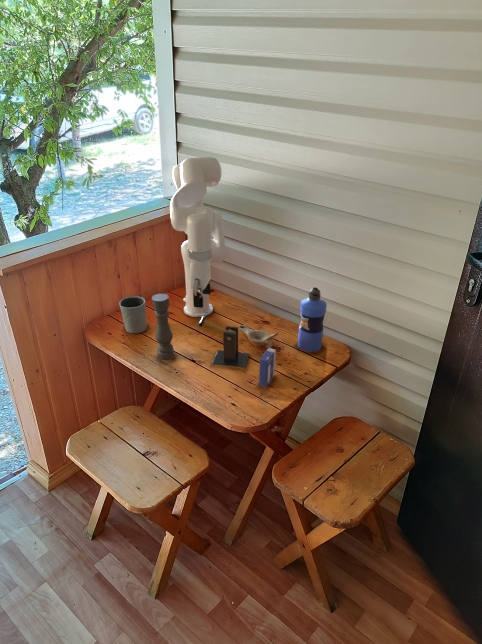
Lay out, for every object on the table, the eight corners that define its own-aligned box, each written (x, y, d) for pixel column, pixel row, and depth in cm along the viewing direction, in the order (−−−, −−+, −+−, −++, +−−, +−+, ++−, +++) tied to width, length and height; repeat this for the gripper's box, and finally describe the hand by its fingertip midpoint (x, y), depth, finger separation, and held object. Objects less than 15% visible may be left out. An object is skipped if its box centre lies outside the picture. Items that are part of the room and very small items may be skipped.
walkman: (266, 389, 161) (267, 360, 154) (258, 387, 162) (259, 358, 155) (274, 377, 167) (276, 348, 160) (267, 375, 168) (268, 346, 161)
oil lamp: (268, 358, 176) (269, 335, 171) (231, 335, 190) (231, 313, 184) (284, 350, 181) (286, 327, 176) (248, 328, 195) (248, 306, 189)
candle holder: (155, 355, 177) (149, 295, 164) (172, 351, 180) (166, 292, 166) (160, 364, 173) (153, 302, 159) (176, 360, 175) (171, 299, 161)
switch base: (212, 366, 172) (211, 334, 165) (218, 352, 180) (217, 321, 172) (244, 369, 170) (245, 338, 163) (249, 356, 178) (249, 325, 170)
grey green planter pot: (140, 336, 189) (137, 309, 182) (118, 331, 191) (114, 305, 185) (152, 324, 197) (149, 298, 190) (131, 320, 199) (127, 294, 193)
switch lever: (197, 326, 166) (199, 321, 165) (201, 319, 171) (203, 314, 169) (231, 342, 167) (234, 337, 166) (234, 334, 171) (237, 329, 170)
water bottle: (304, 356, 178) (310, 296, 164) (292, 343, 185) (297, 285, 171) (326, 351, 181) (333, 291, 167) (313, 339, 188) (319, 281, 174)
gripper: (196, 242, 162) (198, 288, 171) (181, 263, 147) (184, 311, 157) (217, 244, 160) (218, 290, 170) (204, 265, 146) (206, 313, 156)
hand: (202, 300), depth 164 cm, fingers open, 9 cm apart
